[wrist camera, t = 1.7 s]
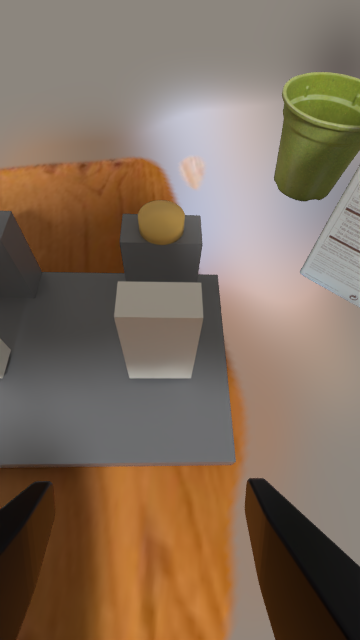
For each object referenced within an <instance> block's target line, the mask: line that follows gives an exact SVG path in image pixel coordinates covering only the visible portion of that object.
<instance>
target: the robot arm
mask: <svg viewBox="0 0 360 640" xmlns="http://www.w3.org/2000/svg"><path fill="white" fill-rule="evenodd" d="M245 515H246V520H247V525H248V530H249V536H250V541H251V546H252V551H253V556H254V561H255V566H256V571H257V576H258V581H259V585H260V589H261V593H262V596H263V599H264V603H265V606H266V610H267V613H268V616H269V620H270V623H271V626H272V630H273V633H274V637H275V640H360V566H359V565H358V564H356V563H355V562H354V561H353V560H352V559H351V558H350V557H349V556H348V555H347V554H346V553H344V552H343V551H342V550H341V549H340V548H339V547H338V546H337V545H336V544H335V543H334V542H333V541H331V540H330V539H329V538H328V537H327V536H326V535H325V534H324V533H323V532H322V531H320V530H319V529H318V528H317V527H316V526H315V525H314V524H313V523H312V522H311V521H309V520H308V519H307V518H306V517H305V516H304V515H303V514H302V513H301V512H300V511H299V510H297V509H296V507H294V506H293V505H292V504H291V503H290V502H289V501H288V500H287V499H286V498H285V497H283V495H281V494H280V493H279V492H278V491H277V490H276V489H275V488H274V487H273V486H272V485H270V483H268V482H267V481H266V480H265V479H263V478H250V479H248V481H247V485H246V498H245ZM54 516H55V501H54V490H53V484H52V483H51V482H50V481H37V482H34V483H32V484H31V485H30V486H29V487H27V488H26V489H25V490H24V491H22V492H21V493H20V494H19V495H18V496H16V497H15V498H14V499H13V500H11V501H10V502H9V503H8V504H6V505H5V506H4V507H3V508H1V509H0V640H16V639H17V636H18V634H19V631H20V628H21V626H22V623H23V620H24V618H25V615H26V612H27V609H28V607H29V604H30V601H31V598H32V596H33V593H34V590H35V586H36V583H37V579H38V576H39V572H40V569H41V565H42V561H43V558H44V554H45V550H46V547H47V543H48V539H49V536H50V532H51V528H52V525H53V521H54Z"/></svg>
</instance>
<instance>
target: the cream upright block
mask: <svg viewBox="0 0 360 640" xmlns="http://www.w3.org/2000/svg"><path fill="white" fill-rule="evenodd" d="M10 351H11V349H10V348H9V347H8V346H7V345H6V344H5V343H4V342H3V341H2V340H1V339H0V378H3V376H4V373H5V369H6V366H7V362H8V359H9V355H10Z"/></svg>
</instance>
